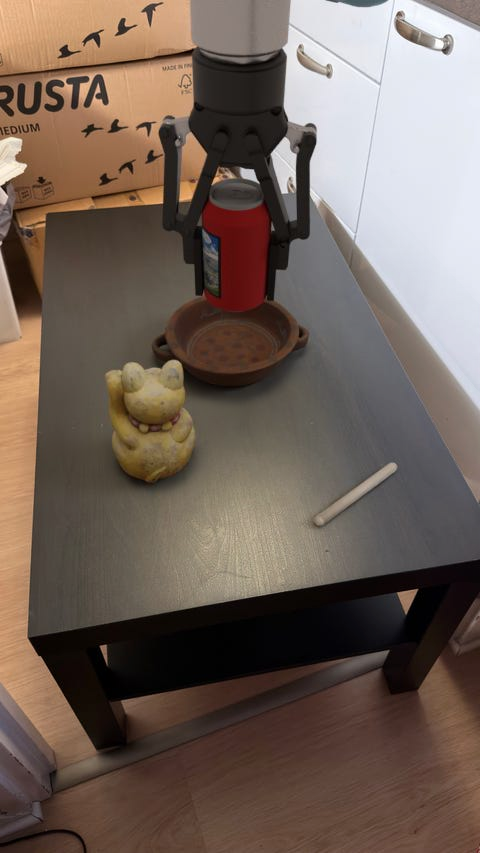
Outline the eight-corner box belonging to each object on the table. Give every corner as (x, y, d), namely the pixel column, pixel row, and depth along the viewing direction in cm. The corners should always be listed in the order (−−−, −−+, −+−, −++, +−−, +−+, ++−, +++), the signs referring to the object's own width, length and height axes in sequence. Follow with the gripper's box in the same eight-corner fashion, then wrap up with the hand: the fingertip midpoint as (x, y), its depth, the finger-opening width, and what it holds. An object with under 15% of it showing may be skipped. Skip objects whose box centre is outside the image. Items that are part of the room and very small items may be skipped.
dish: (322, 390, 84) (327, 362, 80) (158, 408, 81) (155, 380, 77) (293, 310, 95) (296, 283, 92) (149, 324, 92) (145, 296, 89)
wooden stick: (398, 471, 75) (400, 464, 74) (319, 530, 69) (320, 524, 68) (390, 465, 75) (392, 458, 74) (311, 522, 70) (312, 516, 69)
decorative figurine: (191, 433, 78) (185, 341, 67) (203, 484, 73) (199, 394, 62) (114, 445, 77) (95, 352, 66) (120, 498, 71) (100, 408, 60)
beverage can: (209, 276, 69) (207, 171, 60) (270, 282, 69) (276, 177, 60) (198, 314, 65) (194, 207, 56) (263, 320, 64) (269, 213, 55)
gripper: (364, 37, 51) (328, 276, 68) (125, 25, 52) (150, 264, 69) (368, 70, 46) (329, 319, 63) (104, 57, 47) (136, 305, 64)
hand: (235, 290), depth 66 cm, fingers closed on beverage can, 7 cm apart
